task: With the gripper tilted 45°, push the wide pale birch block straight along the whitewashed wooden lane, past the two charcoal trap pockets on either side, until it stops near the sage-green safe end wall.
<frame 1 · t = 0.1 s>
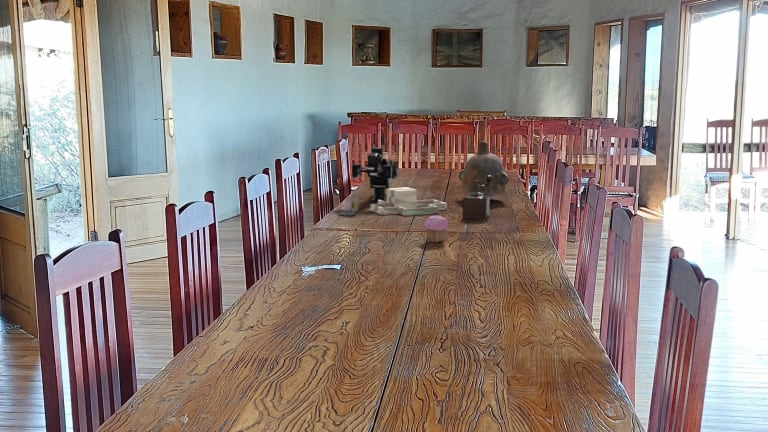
hand: (367, 173, 353), 17 cm above the table, tool horizontal, fingers open, 9 cm apart
birch block: (401, 207, 360), on the table
pocket watch: (349, 215, 341), on the table
jug: (482, 200, 384), on the table
manual coffee grinder: (477, 216, 341), on the table
trap box: (407, 209, 355), on the table
cupcake: (436, 242, 288), on the table
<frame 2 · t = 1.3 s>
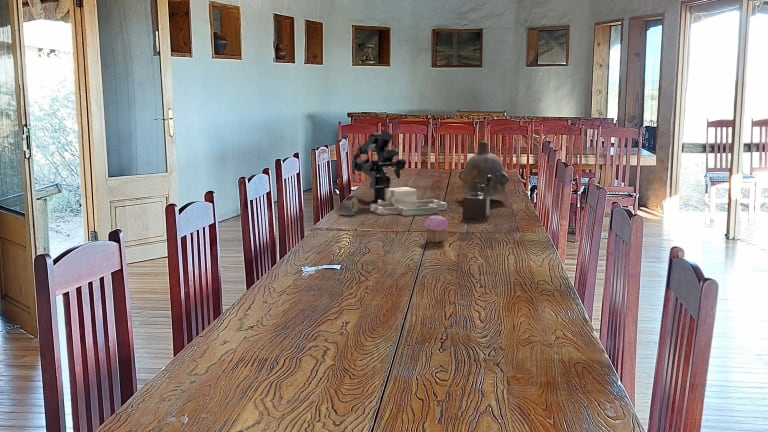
hand: (392, 178, 366), 13 cm above the table, tool tilted 45°, fingers open, 7 cm apart
nothing on the table moved.
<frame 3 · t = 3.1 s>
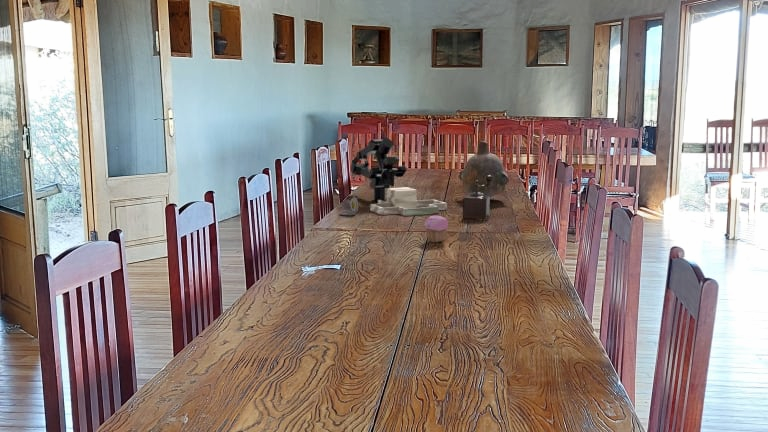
hand: (393, 186, 367), 9 cm above the table, tool tilted 45°, fingers closed
nothing on the table moved.
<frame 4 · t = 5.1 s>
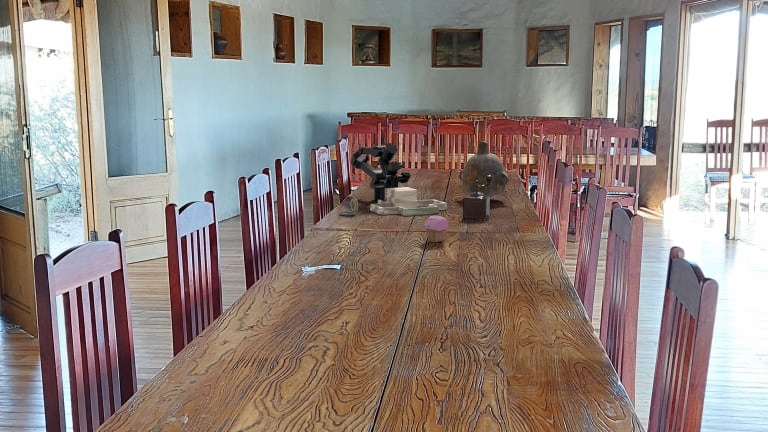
hand: (397, 192, 363), 7 cm above the table, tool tilted 45°, fingers closed, pressing on birch block
birch block: (401, 207, 360), on the table, touching gripper
everything else where it was.
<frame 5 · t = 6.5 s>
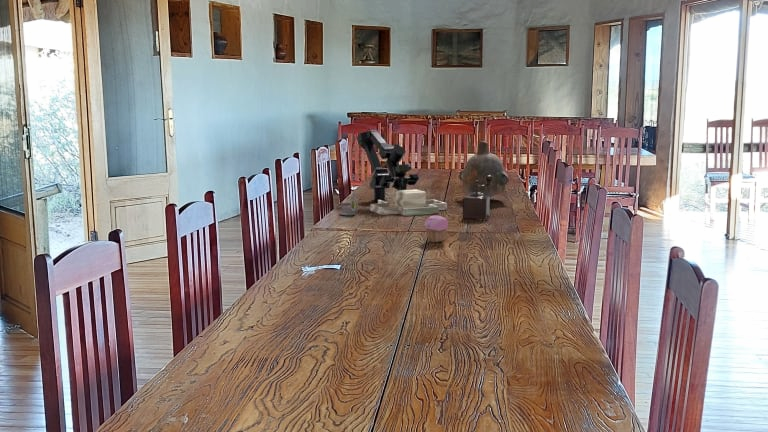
hand: (405, 194, 356), 7 cm above the table, tool tilted 45°, fingers closed, pressing on birch block
birch block: (410, 210, 353), on the table, touching gripper
everything else where it was.
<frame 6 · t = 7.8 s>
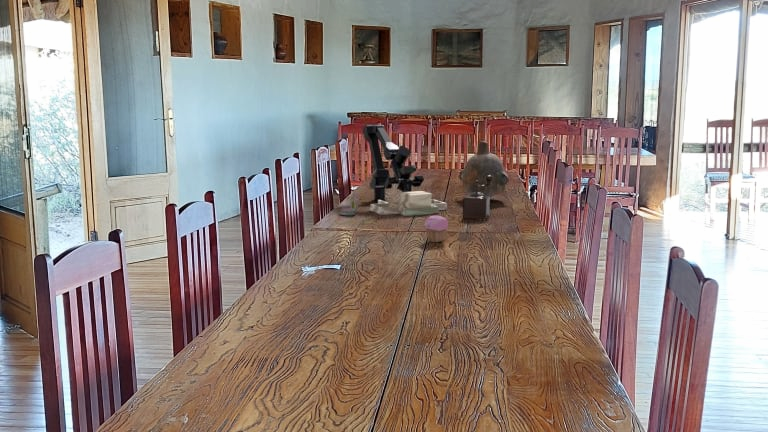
hand: (410, 196, 352), 7 cm above the table, tool tilted 45°, fingers closed, pressing on birch block
birch block: (415, 212, 349), on the table, touching gripper
everything else where it was.
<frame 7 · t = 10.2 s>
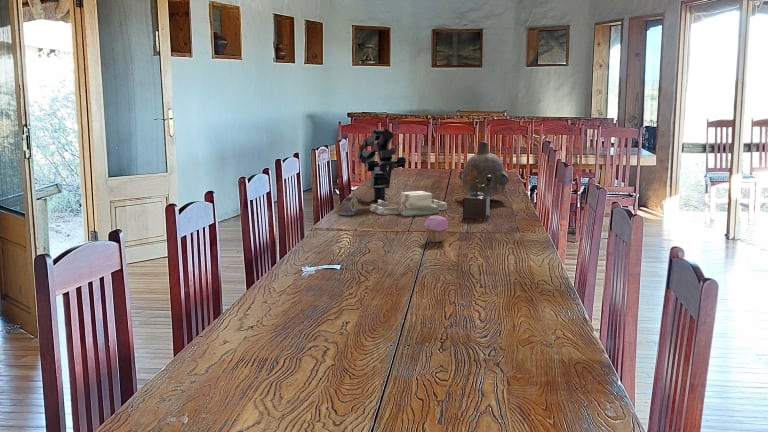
hand: (389, 179, 364), 13 cm above the table, tool tilted 40°, fingers closed
birch block: (415, 212, 349), on the table
everything else where it was.
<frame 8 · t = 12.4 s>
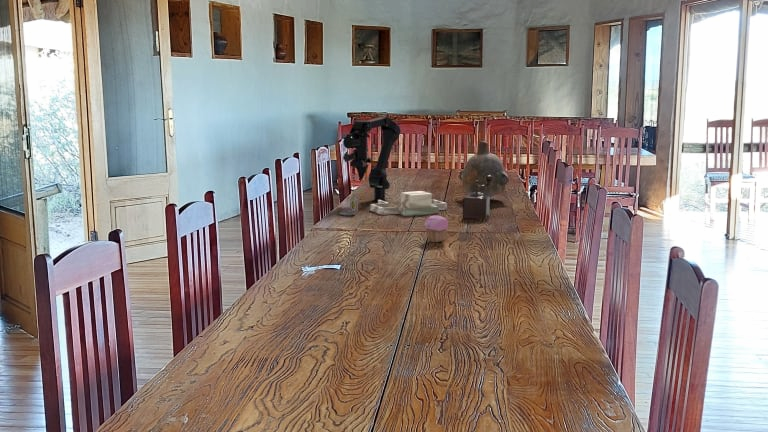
hand: (361, 179, 366), 12 cm above the table, tool pointing down, fingers closed
nothing on the table moved.
at the end: birch block inside the target area (1.5 cm from its centre), on the table; birch block tilted 0°; birch block moved 13.2 cm from its start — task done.
